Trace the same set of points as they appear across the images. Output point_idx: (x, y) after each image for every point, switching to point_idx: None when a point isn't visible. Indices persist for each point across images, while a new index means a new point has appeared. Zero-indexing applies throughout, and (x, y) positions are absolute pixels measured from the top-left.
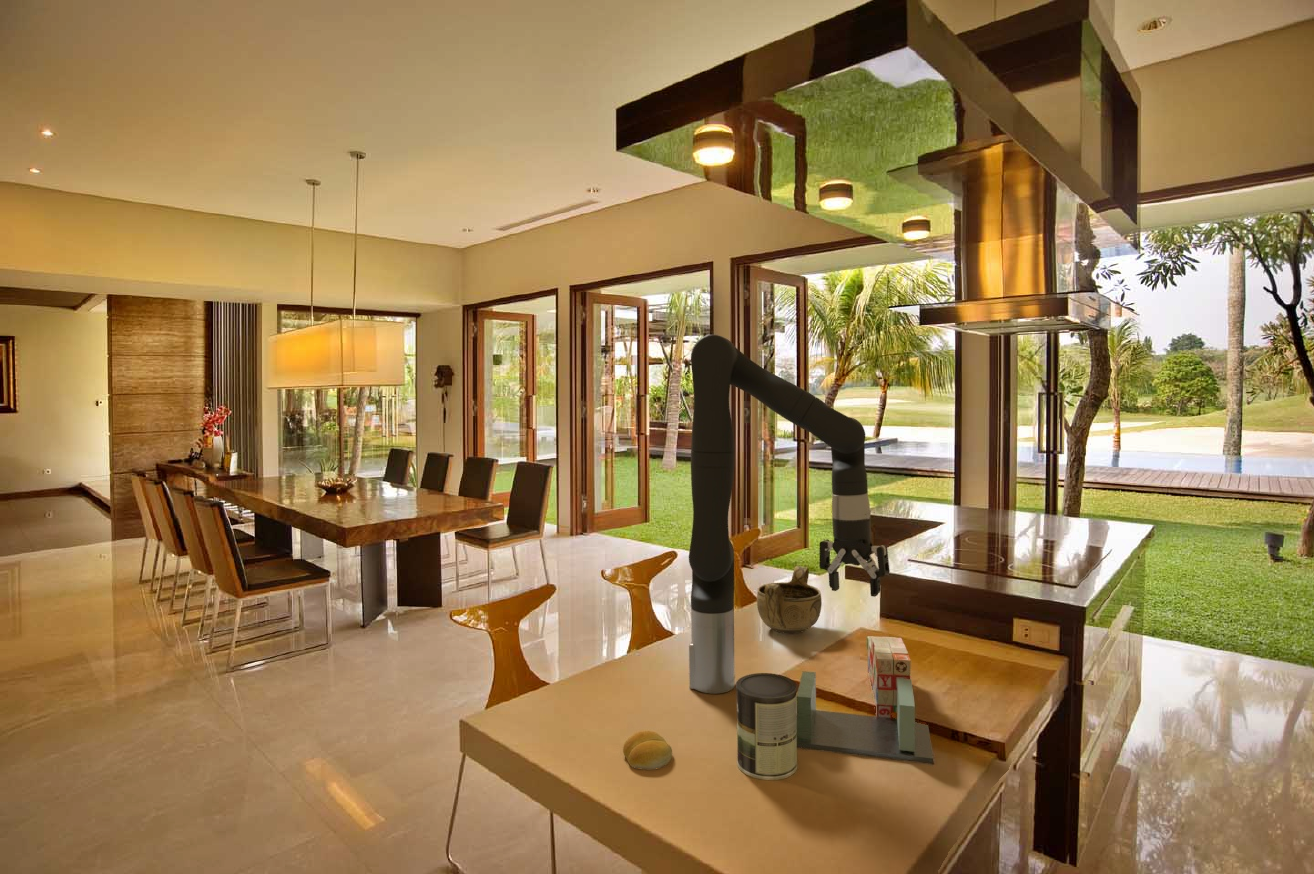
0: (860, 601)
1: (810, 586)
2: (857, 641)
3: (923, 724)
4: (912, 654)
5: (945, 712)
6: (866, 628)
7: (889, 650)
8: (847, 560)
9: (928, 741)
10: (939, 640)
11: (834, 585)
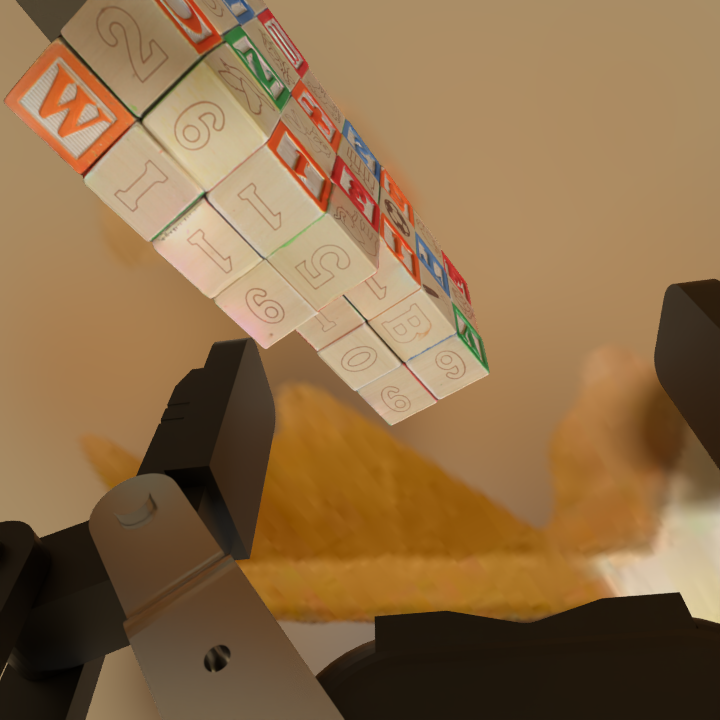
0: None
1: None
2: (619, 476)
3: (40, 5)
4: (440, 485)
5: None
6: (632, 553)
7: (177, 153)
8: (629, 678)
9: None
10: (430, 578)
11: (701, 312)
